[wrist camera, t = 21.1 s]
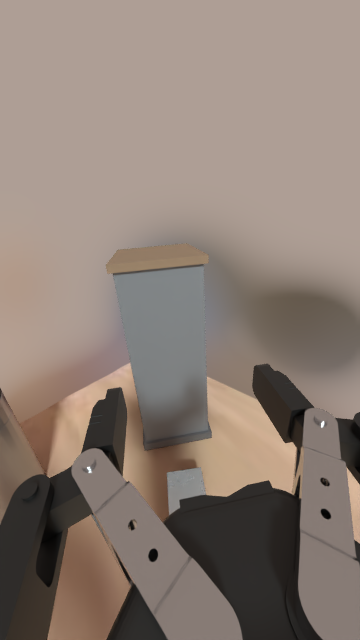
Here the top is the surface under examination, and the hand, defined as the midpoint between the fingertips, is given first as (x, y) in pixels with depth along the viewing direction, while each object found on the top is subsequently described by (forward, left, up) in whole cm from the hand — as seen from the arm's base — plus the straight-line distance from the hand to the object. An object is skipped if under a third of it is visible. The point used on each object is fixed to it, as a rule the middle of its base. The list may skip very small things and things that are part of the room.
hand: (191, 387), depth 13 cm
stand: (-13, +19, -27) cm, 36 cm away
